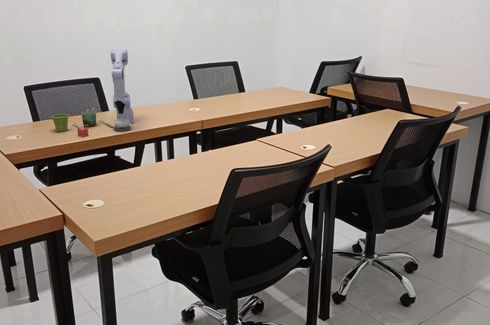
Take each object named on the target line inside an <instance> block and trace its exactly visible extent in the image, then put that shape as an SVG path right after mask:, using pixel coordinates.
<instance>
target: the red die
mask: <svg viewBox="0 0 490 325" xmlns="http://www.w3.org/2000/svg"><path fill="white" fill-rule="evenodd" d="M76 129H77V136H78V137H81V138H85V137H88V136H90V135H89V129H88V127H84V126H83V127H82V128H79V129H78V128H76Z"/></svg>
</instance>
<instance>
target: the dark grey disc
mask: <svg viewBox="0 0 490 325" xmlns="http://www.w3.org/2000/svg"><path fill="white" fill-rule="evenodd" d="M112 130H113V132H117V133H123V132H128V131H131V130H132V126H131V125H129V126H127V127H115V126H114V127H113V128H112Z"/></svg>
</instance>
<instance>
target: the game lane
mask: <svg viewBox="0 0 490 325" xmlns="http://www.w3.org/2000/svg"><path fill="white" fill-rule="evenodd" d="M98 122H100V123H101V124H102V125H105V126H107V127H108V128H111V129H113V127H115V125H114V126H113V125H112V124H109V122H106V121H105V120H103V119H100V120H98ZM72 126H74V127H76V129H79V128H83V127H81V126H80V125H79V124H77V123H73V124H72Z"/></svg>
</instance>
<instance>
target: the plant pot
mask: <svg viewBox="0 0 490 325" xmlns="http://www.w3.org/2000/svg"><path fill="white" fill-rule="evenodd" d="M69 116H70V115H69V114H68V113H57V114H53V115H51V116H50V117H51V118H52V121H53V124H54V128H55V130H56V132H60V133H61V132H67V131H68V126H69V125H68V122H69Z"/></svg>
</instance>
